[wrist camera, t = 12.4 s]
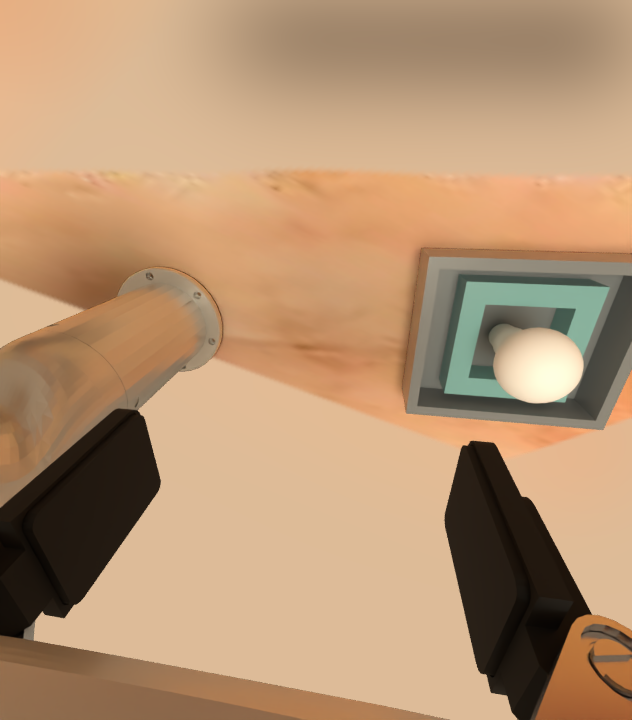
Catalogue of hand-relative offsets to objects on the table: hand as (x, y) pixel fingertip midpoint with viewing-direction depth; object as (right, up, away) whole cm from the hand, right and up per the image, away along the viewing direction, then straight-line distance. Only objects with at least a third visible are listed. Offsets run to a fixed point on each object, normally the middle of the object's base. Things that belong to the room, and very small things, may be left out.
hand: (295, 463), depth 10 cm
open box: (+20, +6, +26) cm, 33 cm away
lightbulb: (+19, +6, +25) cm, 32 cm away
